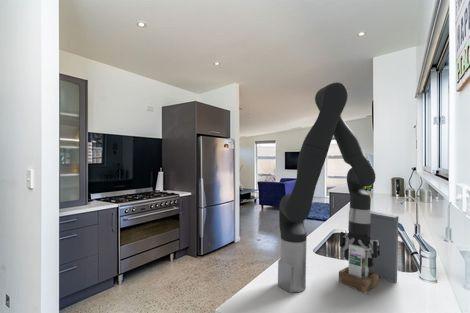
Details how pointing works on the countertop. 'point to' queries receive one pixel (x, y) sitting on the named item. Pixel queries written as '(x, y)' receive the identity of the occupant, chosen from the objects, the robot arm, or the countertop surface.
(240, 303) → the countertop surface
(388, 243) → the upright grey panel
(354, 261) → the syrup box
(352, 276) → the socket
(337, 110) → the robot arm
